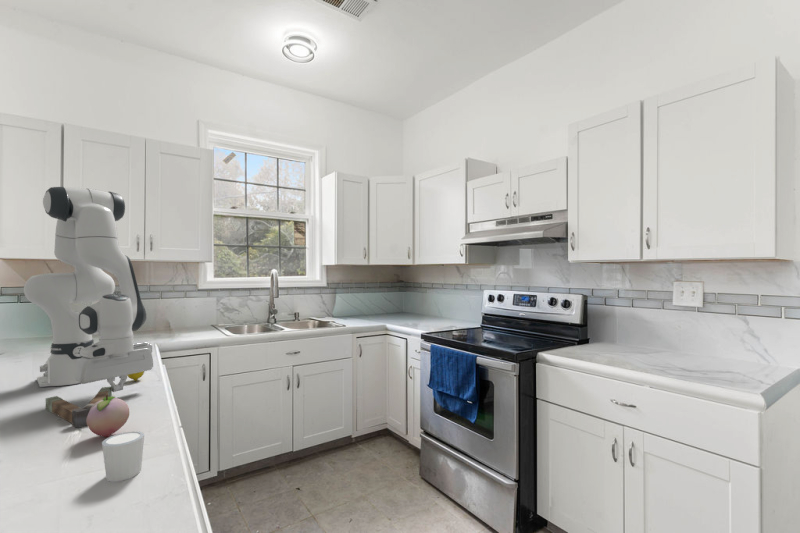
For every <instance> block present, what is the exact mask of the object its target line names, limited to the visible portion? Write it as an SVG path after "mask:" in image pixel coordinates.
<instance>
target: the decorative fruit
mask: <svg viewBox="0 0 800 533" xmlns="http://www.w3.org/2000/svg"><path fill="white" fill-rule="evenodd" d="M129 418H130V407H129V405H128V403H127V402H126V401H125V400H123V399H121V398H118V397H115V396H113V395H112V396H111V397H108V395H106V397H105V398H104V399H103V400H100V401H98V402H96V403H95V404H94V405H93V406H92V407H91V409H90V411H89V413H88V416H87V419H86V422H87V425H86V426H87V427H88V429H89V430H90V432H91V433H93V434H94V435H97V436H99V437H103V438H109V437H110V436H112V435H113V434H114V433H116V432H117V431H119V430H120V429H121V428H122V427H123V426H124V425H126V423H127V421H128V420H129Z"/></svg>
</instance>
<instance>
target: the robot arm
mask: <svg viewBox="0 0 800 533" xmlns="http://www.w3.org/2000/svg"><path fill="white" fill-rule="evenodd" d="M42 205H43V208H44V210H45V213H46V214H47V215H48V216H49V217H51V218H53V219H56V226H55V236H54V237H55V238H54V256H55V257H56V259H57V260H58V261H60V262H62V263H64V264H66V265H68V266H69V265H70V266H72V267H74V272H51V273H49V272H48V273H43V274H36V275H32V276H30V277H29V278H28V279H27V280H26V281H25V284H24V286H23V294H24V296H25V298H26V299H27V300H28V301H29V302H30V303H32V304H34V305H36V306H38V307H39V308H40V309H42V310H43V311H44V312H45V314H46V315H47V316H48V318H49V321H50V322H51V329H52V343H51V346H50V353H49V354H50V355H49V357H48V358H47V360H46V362H44V363H43V365H40V366H39V372H40V373H43V374H42V375H39V376H37V377H36V382H37V384H38V387H39V388H45V387H56V386H57V387H59V386H68V385H69V386H70V385H76V384H82V385H84V384H90V383H95V382H100V381H103V380H105V381H106V382H107V383H108V385H109V386H110V387H111V391H112V393H115V392H119V391H123V390H124V385H125V383H126V381H127V379H128V376H127V375H129V374H133V373H138V372H143V371H144V372H147V371H151V370H153V368H154V358H153V345H152V344H151V343H149V342H148V341H145V342H140V343H139V342H138V343H137V342H136V343H134V332H136V331H138V330H140V329H141V328H142V326H143V325H144V324H145V322H146V320H147V312H146V309H145V307H144V304H143V301H142V299H141V294H140V291H139V286H138V282H137V278H136V274H135V270H134V266H133V264H132V261H131V259H130V257H129V256H127V255H126V254H125V253H124V252H123V251H122V249H121V247H120V245H119V236H118V228H117V224H116V223H117V222H118V221H120V220H121V219H123V217H124V216H125V213H126V212H125V211H126V202H125V200H124V198H123V196H121V194H119V193H117V192H113V191H104V190H100V189H94V188H80V187H64V186H52V187H49V188H48V189H47V190H46V191H45V193H44V196H43V198H42ZM105 271H106V272H108V273H111V274H112V275H114V276H115V278H116V279H117V282H118V287H119V290H120V294H118V293H115V290H116V283H115V281H114V279H113V277H112V276H111V275H110V274H108V273H106V272H105ZM93 302H94V303H93ZM79 303H93V304H91V305H87V306H85V308H84V309H82V310H81V311H80V312H78V311H75V310H74V309H73V308H72V304H79ZM93 335H94V336H95V335H96V336H97V335H99V338H98V341H97V342H94V341H95V340H94V339H93ZM116 378H119V379H120V380H119V382H118V384H115V381H116Z"/></svg>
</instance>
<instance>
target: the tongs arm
mask: <svg viewBox="0 0 800 533" xmlns="http://www.w3.org/2000/svg"><path fill="white" fill-rule="evenodd" d="M106 395H108V397H111V396H113V392H112V391H111V386H104V387H103V386H102V387H101V388H100V389H99V390H98V391H97V393H96V395H95V396H94V397H93V398H92V399H91V401H89V403H88V404H95V403H96V402H98V401H100V400H103V399H104V398H105V397H106Z"/></svg>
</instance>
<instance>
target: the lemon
mask: <svg viewBox="0 0 800 533" xmlns="http://www.w3.org/2000/svg"><path fill="white" fill-rule="evenodd" d="M144 374H145V371H143V372H138V373H133V374H129V375H127V378H129V379H131V380H133V381H134V382H136V381H138V380H139V379H140V378H142V377H143V375H144Z"/></svg>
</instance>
